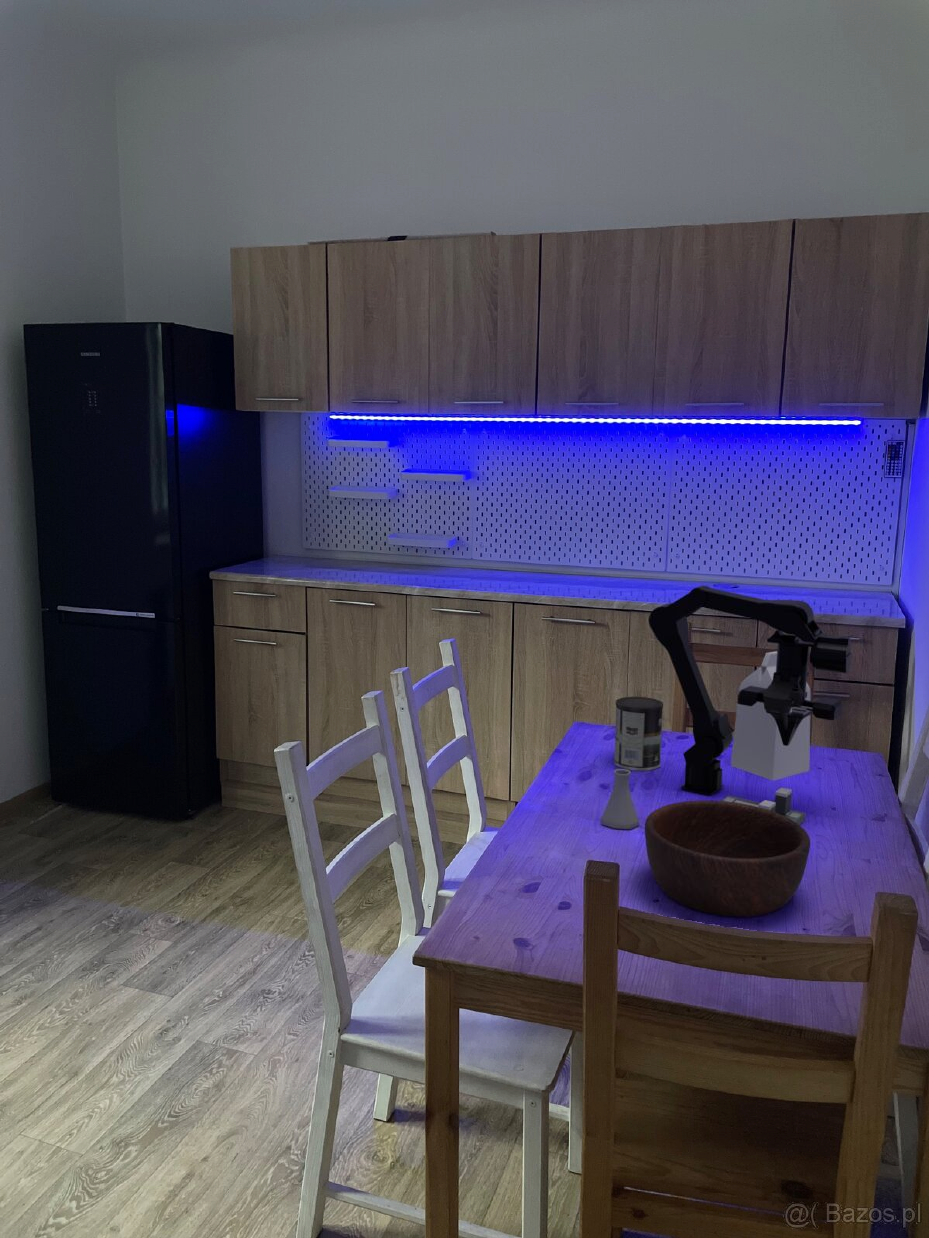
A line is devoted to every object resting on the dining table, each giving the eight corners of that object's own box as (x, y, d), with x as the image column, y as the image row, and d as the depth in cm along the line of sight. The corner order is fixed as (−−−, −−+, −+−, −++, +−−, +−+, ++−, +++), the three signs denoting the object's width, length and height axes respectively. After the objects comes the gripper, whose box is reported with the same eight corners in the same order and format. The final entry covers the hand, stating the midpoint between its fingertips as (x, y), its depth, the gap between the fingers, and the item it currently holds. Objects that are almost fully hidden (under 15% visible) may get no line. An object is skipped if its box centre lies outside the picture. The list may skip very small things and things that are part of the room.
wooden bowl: (819, 935, 139) (824, 867, 137) (642, 918, 143) (645, 853, 141) (792, 863, 163) (796, 805, 161) (641, 851, 167) (644, 794, 165)
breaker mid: (757, 825, 174) (758, 804, 173) (763, 820, 176) (764, 799, 176) (768, 828, 173) (769, 807, 172) (774, 823, 175) (775, 802, 175)
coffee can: (655, 756, 219) (658, 696, 216) (664, 771, 209) (667, 708, 206) (610, 756, 219) (612, 695, 216) (616, 771, 209) (619, 707, 206)
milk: (772, 780, 204) (781, 660, 199) (730, 765, 213) (737, 650, 209) (809, 770, 210) (818, 654, 206) (766, 756, 220) (774, 644, 215)
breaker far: (774, 812, 181) (775, 791, 180) (780, 807, 183) (781, 787, 182) (784, 814, 180) (786, 794, 179) (790, 810, 182) (791, 789, 181)
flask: (644, 819, 181) (646, 768, 180) (633, 833, 175) (636, 780, 173) (606, 813, 184) (608, 763, 183) (595, 826, 178) (597, 774, 176)
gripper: (728, 667, 185) (723, 745, 187) (827, 682, 173) (821, 765, 176) (750, 657, 193) (745, 732, 196) (846, 671, 182) (840, 751, 185)
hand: (786, 745), depth 188 cm, fingers closed
